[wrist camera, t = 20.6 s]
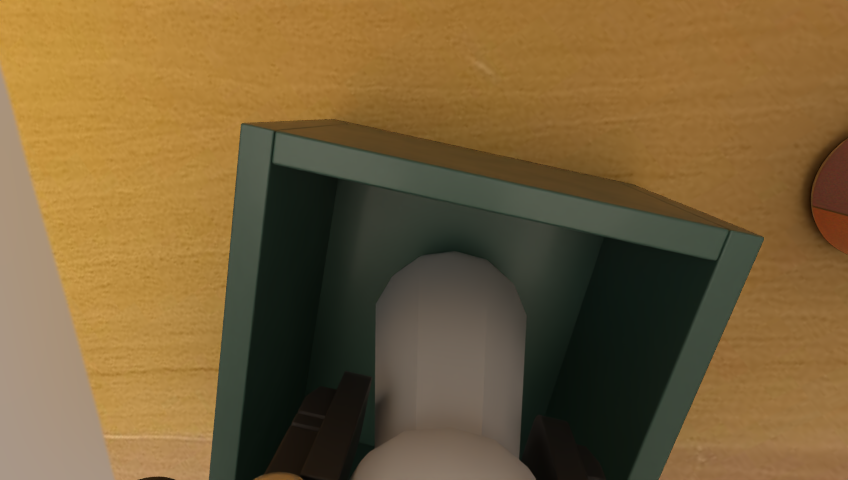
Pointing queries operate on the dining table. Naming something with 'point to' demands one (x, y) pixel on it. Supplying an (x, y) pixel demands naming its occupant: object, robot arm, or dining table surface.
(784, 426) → the dining table surface
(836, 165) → the beverage can
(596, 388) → the chest
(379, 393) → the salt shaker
